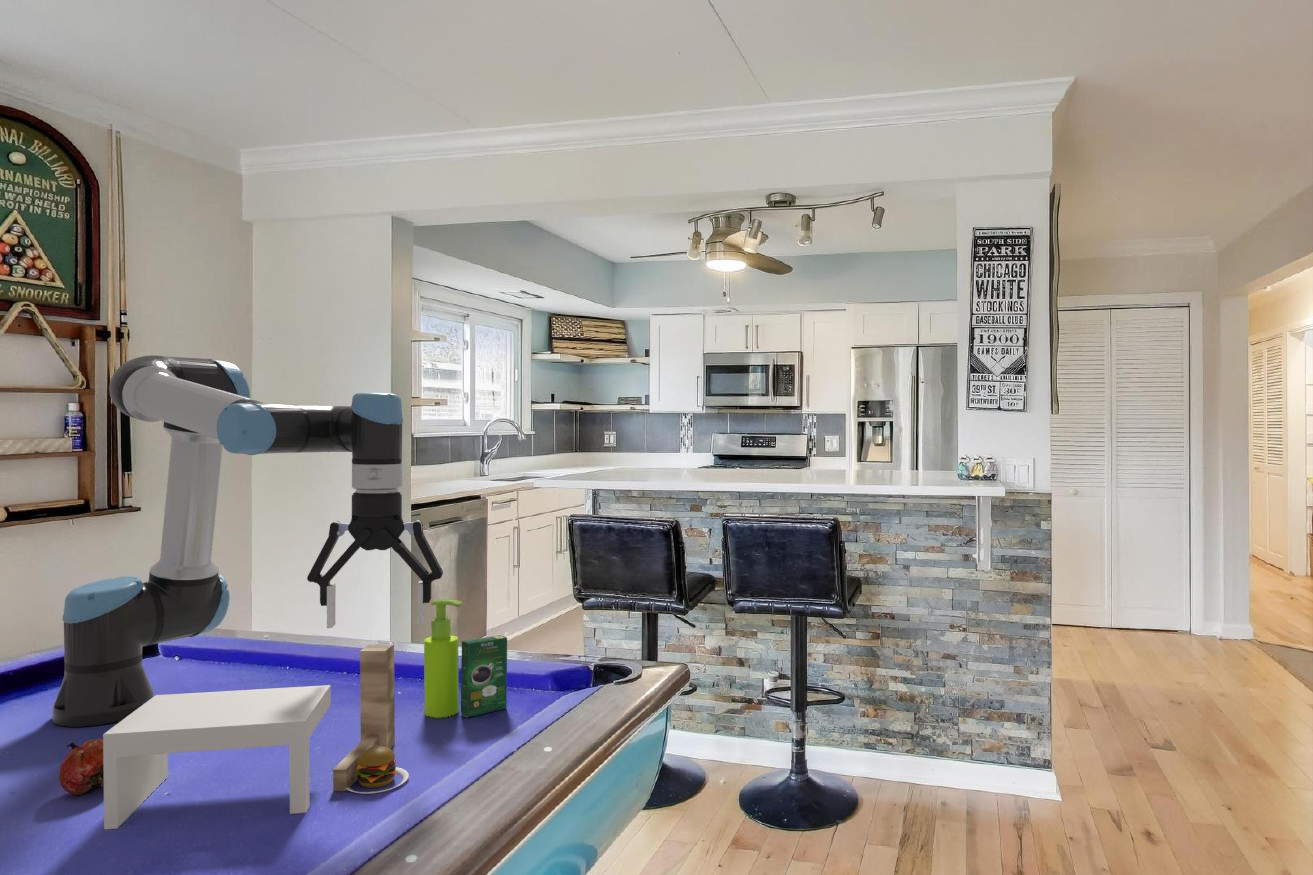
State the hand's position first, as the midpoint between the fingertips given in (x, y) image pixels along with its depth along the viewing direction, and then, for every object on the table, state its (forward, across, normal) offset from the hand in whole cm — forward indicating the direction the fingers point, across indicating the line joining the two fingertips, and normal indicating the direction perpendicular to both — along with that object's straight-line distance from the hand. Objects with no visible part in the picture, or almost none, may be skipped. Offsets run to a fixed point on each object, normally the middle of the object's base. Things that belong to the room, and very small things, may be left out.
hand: (376, 624), depth 132 cm
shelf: (+19, -17, -14) cm, 30 cm away
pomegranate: (+20, -36, -10) cm, 43 cm away
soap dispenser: (+20, +10, +14) cm, 26 cm away
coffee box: (+20, +17, +14) cm, 29 cm away
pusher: (+19, -1, -8) cm, 21 cm away
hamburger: (+20, +2, -14) cm, 25 cm away
